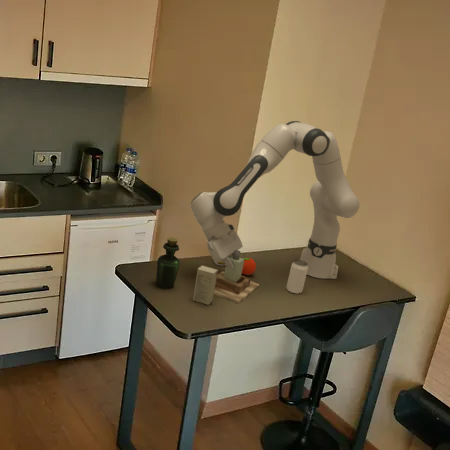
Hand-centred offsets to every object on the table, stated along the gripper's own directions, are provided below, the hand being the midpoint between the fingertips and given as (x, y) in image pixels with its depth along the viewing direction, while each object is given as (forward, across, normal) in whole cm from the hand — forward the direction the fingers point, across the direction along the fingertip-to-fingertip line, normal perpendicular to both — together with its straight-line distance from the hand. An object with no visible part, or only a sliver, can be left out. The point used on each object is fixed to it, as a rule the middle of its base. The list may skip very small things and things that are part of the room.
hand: (236, 265), depth 228 cm
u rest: (+6, 0, +7) cm, 9 cm away
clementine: (+6, +17, +8) cm, 20 cm away
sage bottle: (+3, 0, +4) cm, 5 cm away
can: (+20, +18, -7) cm, 28 cm away
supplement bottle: (-3, +19, +16) cm, 25 cm away
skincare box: (+4, -18, +9) cm, 21 cm away
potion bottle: (-7, -17, +21) cm, 28 cm away
